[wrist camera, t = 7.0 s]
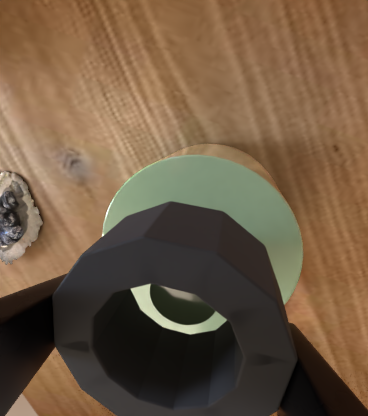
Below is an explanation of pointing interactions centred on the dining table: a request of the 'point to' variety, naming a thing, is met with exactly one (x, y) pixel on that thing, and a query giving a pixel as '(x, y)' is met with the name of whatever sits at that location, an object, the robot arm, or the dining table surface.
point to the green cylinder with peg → (219, 200)
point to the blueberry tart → (16, 217)
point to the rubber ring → (170, 339)
